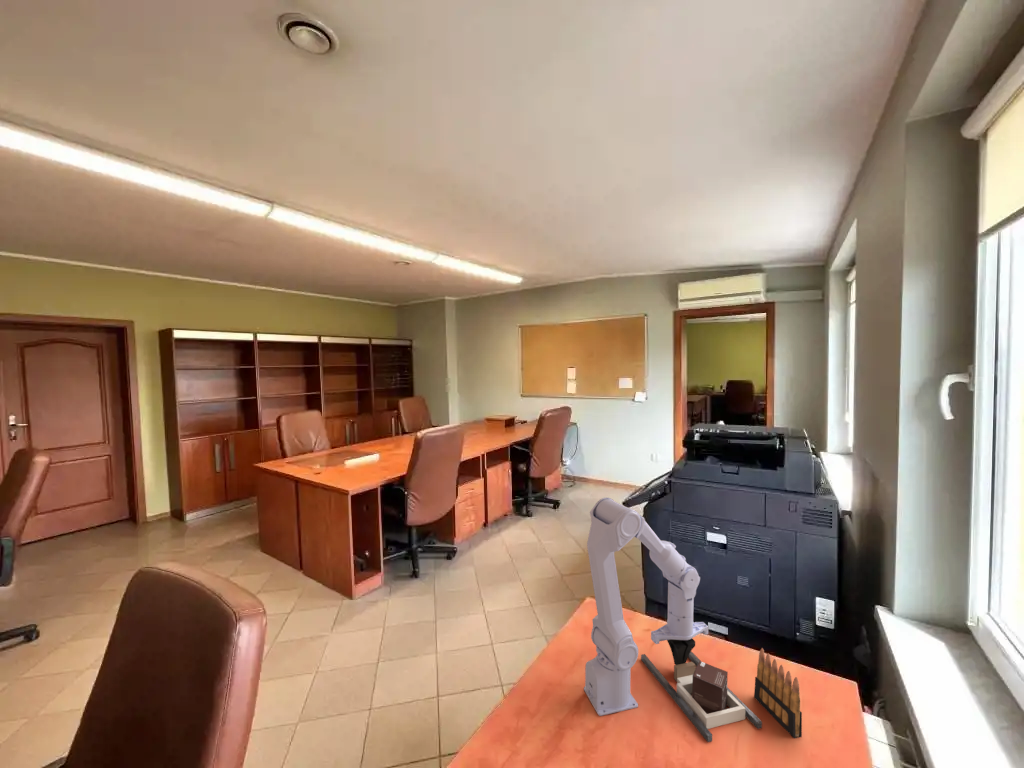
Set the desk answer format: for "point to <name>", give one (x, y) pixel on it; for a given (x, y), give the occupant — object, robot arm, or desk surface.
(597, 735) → the desk surface
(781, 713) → the ammunition clip
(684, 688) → the frame
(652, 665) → the track
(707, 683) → the box
